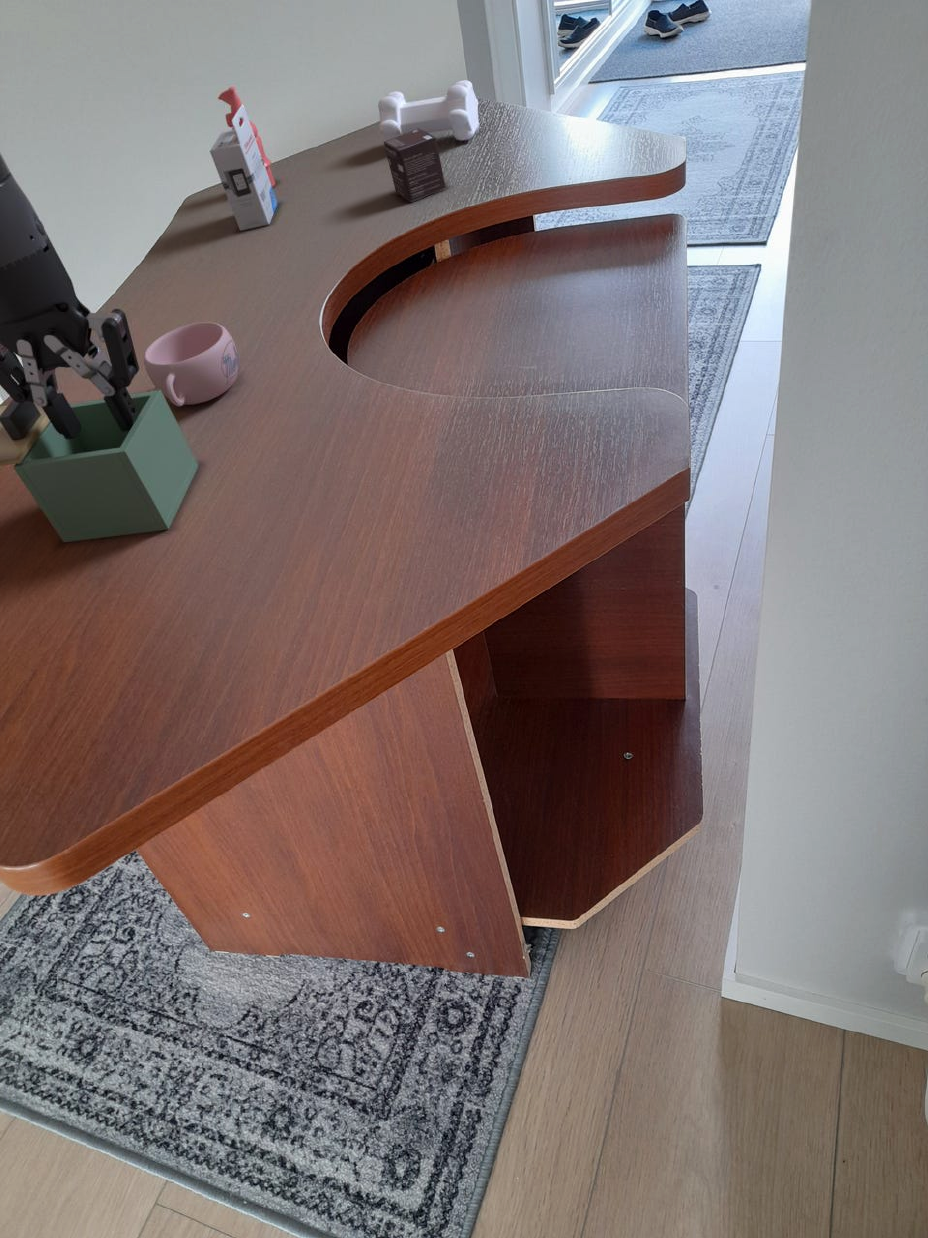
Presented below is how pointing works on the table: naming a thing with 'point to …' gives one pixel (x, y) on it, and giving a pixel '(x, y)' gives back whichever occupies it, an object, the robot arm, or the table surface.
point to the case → (111, 471)
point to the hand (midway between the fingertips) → (102, 429)
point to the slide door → (19, 430)
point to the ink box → (244, 174)
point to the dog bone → (431, 113)
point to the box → (415, 165)
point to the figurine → (235, 103)
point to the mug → (193, 363)
